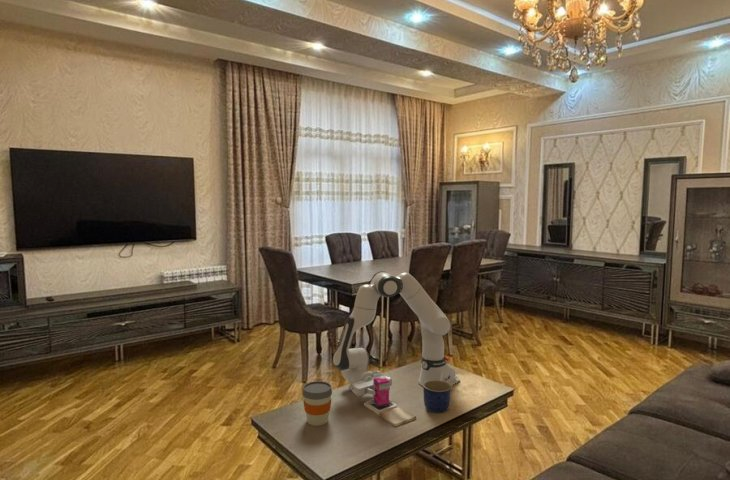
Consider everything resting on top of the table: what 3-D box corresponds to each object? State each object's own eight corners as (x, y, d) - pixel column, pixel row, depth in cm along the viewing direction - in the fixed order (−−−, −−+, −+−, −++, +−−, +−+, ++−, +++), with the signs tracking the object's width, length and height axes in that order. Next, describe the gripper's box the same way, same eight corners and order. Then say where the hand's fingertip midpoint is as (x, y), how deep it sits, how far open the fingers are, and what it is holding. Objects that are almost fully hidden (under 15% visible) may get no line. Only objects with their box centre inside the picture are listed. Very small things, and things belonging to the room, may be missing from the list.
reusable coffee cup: (337, 417, 194) (337, 384, 193) (320, 430, 183) (320, 395, 182) (314, 410, 201) (314, 378, 199) (296, 422, 190) (296, 389, 188)
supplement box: (372, 401, 206) (372, 377, 205) (383, 399, 208) (384, 375, 207) (377, 406, 201) (378, 382, 200) (389, 404, 203) (390, 380, 202)
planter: (455, 412, 200) (456, 388, 199) (431, 417, 195) (432, 393, 194) (441, 400, 211) (441, 378, 210) (418, 404, 207) (418, 382, 206)
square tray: (382, 399, 212) (382, 396, 212) (397, 408, 203) (397, 405, 203) (364, 405, 206) (364, 402, 206) (378, 414, 197) (378, 411, 197)
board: (399, 408, 203) (399, 406, 203) (416, 418, 194) (416, 416, 194) (379, 416, 196) (379, 413, 196) (395, 426, 187) (395, 424, 187)
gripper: (346, 379, 208) (363, 390, 197) (381, 369, 220) (399, 379, 209) (346, 392, 209) (363, 403, 198) (381, 382, 221) (399, 392, 209)
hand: (382, 391), depth 203 cm, fingers closed on supplement box, 6 cm apart
